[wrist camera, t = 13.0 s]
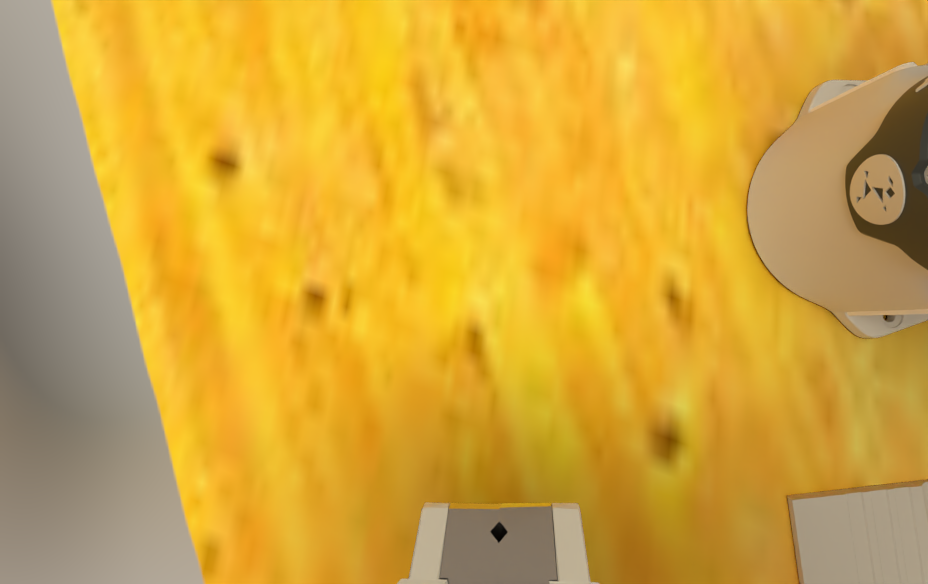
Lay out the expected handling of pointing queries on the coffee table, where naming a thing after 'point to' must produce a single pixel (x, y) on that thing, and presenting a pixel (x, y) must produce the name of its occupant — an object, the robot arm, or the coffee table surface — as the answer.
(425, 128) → the coffee table surface
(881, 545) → the baseboard molding
